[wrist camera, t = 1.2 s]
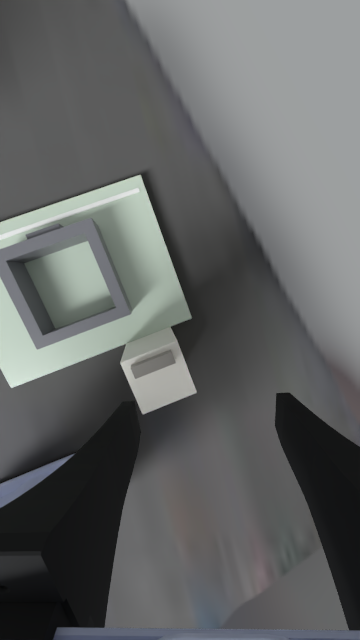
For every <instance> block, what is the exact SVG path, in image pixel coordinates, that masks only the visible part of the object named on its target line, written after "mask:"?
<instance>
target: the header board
mask: <svg viewBox="0 0 360 640" xmlns="http://www.w3.org/2000/svg"><path fill="white" fill-rule="evenodd" d="M191 318H192V317H191V314H190V311H189V308H188V306H187V303H186V300H185V297H184V295H183V292H182V289H181V286H180V283H179V281H178V278H177V275H176V272H175V270H174V267H173V264H172V261H171V258H170V256H169V253H168V250H167V247H166V244H165V242H164V239H163V236H162V233H161V231H160V228H159V225H158V222H157V219H156V217H155V214H154V211H153V208H152V206H151V203H150V200H149V197H148V194H147V192H146V189H145V186H144V183H143V181H142V178H141V175H138V176H135V177H132V178H129V179H126V180H123V181H120V182H117V183H114V184H111V185H108V186H105V187H102V188H100V189H97V190H94V191H91V192H88V193H85V194H82V195H79V196H76V197H73V198H70V199H67V200H64V201H61V202H58V203H55V204H52V205H49V206H47V207H44V208H41V209H38V210H35V211H32V212H29V213H26V214H23V215H20V216H17V217H14V218H11V219H8V220H5V221H2V222H0V369H1V370H2V372H3V374H4V376H5V378H6V380H7V381H8V383H9V385H10V387H11V388H13V387H15V386H18V385H21V384H23V383H26V382H28V381H31V380H33V379H36V378H39V377H41V376H44V375H46V374H49V373H52V372H54V371H57V370H59V369H62V368H65V367H67V366H70V365H72V364H75V363H77V362H80V361H83V360H85V359H88V358H90V357H93V356H96V355H98V354H101V353H103V352H106V351H109V350H111V349H114V348H116V347H119V346H122V345H124V344H127V343H129V342H132V341H134V340H137V339H140V338H142V337H145V336H147V335H150V334H153V333H155V332H158V331H160V330H163V329H166V328H168V327H171V326H173V325H176V324H178V323H181V322H184V321H186V320H189V319H191Z"/></svg>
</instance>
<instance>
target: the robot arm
mask: <svg viewBox="0 0 360 640" xmlns="http://www.w3.org/2000/svg"><path fill="white" fill-rule="evenodd" d="M275 427H276V430H277V434H278V437H279V440H280V443H281V446H282V448H283V450H284V453H285V455H286V457H287V459H288V461H289V464H290V466H291V468H292V470H293V472H294V474H295V477H296V479H297V481H298V483H299V485H300V487H301V490H302V492H303V494H304V496H305V499H306V501H307V504H308V506H309V509H310V512H311V515H312V517H313V520H314V523H315V526H316V529H317V531H318V534H319V537H320V540H321V543H322V546H323V549H324V552H325V555H326V558H327V561H328V564H329V567H330V570H331V573H332V576H333V579H334V583H335V586H336V589H337V592H338V595H339V598H340V602H341V605H342V608H343V611H344V615H345V618H346V621H347V624H348V628H349V630H269V629H268V630H266V629H263V630H262V629H173V628H104V626H105V618H106V611H107V603H108V596H109V589H110V582H111V575H112V568H113V562H114V555H115V549H116V543H117V537H118V531H119V526H120V520H121V515H122V509H123V505H124V501H125V497H126V493H127V489H128V486H129V482H130V478H131V475H132V471H133V468H134V464H135V460H136V456H137V452H138V446H139V440H140V433H141V432H140V427H139V422H138V417H137V411H136V406H135V401H131V402H123V403H122V404H121V405H120V406H119V407H118V408H117V409H116V411H115V412H114V413H113V414H112V415H111V416H110V418H109V419H108V420H107V421H106V422H105V423H104V425H103V426H102V427H101V428H100V429H99V430H98V431H97V432H96V433H95V435H94V436H93V437H92V438H91V439H90V440H89V441H88V442H87V443H86V444H85V445H84V446H83V447H82V448H81V449H80V450H79V451H78V452H76V453H75V454H72V455H69V456H67V457H64V458H62V459H59V460H57V461H55V462H52V463H50V464H47V465H45V466H42V467H40V468H38V469H35V470H33V471H30V472H28V473H25V474H23V475H21V476H18V477H16V478H13V479H11V480H8V481H6V482H3V483H1V484H0V640H360V447H359V446H358V445H356V444H354V443H353V442H351V441H350V440H348V439H347V438H345V437H344V436H343V435H341V434H340V433H338V432H337V431H336V430H334V429H333V428H332V427H330V426H329V425H328V424H326V423H325V422H324V421H322V420H321V419H320V418H319V417H317V416H316V415H315V414H314V413H313V412H311V411H310V410H309V409H308V408H307V407H305V406H304V405H303V404H302V403H301V402H300V401H298V400H297V399H296V398H295V397H294V396H293V395H291V394H290V393H277V394H276V416H275Z"/></svg>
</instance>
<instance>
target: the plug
mask: <svg viewBox="0 0 360 640" xmlns="http://www.w3.org/2000/svg"><path fill="white" fill-rule="evenodd" d="M120 364H121V366H122V368H123V371H124V373H125V375H126V378H127V380H128V382H129V384H130V387H131V389H132V391H133V394H134V396H135V398H136V400H137V403H138V405H139V407H140V410H141V412H142V414H146V413H148V412H151V411H153V410H156V409H158V408H160V407H163V406H165V405H168V404H170V403H173V402H175V401H178V400H180V399H183V398H185V397H188V396H190V395H192V394H195V393H197V391H196V389H195V386H194V384H193V381H192V378H191V376H190V373H189V370H188V368H187V365H186V362H185V360H184V357H183V355H182V352H181V349H180V347H179V344H178V341H177V339H176V337H175V335H174V333H173V331H172V329H171V327H168V328H166V329H163V330H160V331H158V332H155V333H153V334H150V335H147V336H145V337H142V338H140V339H137V340H134V341H132V342H129V343H127V344H126V346H125V349H124V352H123V356H122V359H121V362H120Z"/></svg>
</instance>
